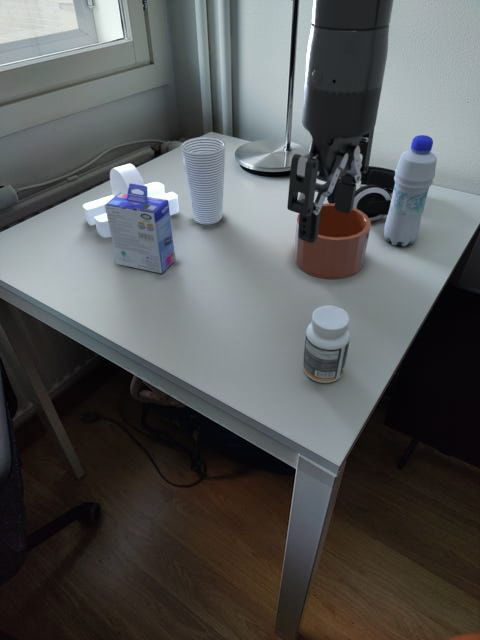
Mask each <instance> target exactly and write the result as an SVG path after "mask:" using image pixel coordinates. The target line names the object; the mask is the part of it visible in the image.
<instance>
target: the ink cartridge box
mask: <svg viewBox="0 0 480 640" xmlns="http://www.w3.org/2000/svg"><path fill="white" fill-rule="evenodd" d="M133 189H139V190H141V191H143V192H144V194H143V195H139V194H133V193H132V192H131V191H132V190H133ZM147 191H148V186H142V185H136V184H129V188H128V194H125V193H119V194H118V195H116V196H115V197H114V198H112V199H111V200H110V201H109V202H108V203H106V204H105V209H106V214H107V218H108V223H109V228H110V233H111V237H110V238H111V241H112V247H113V251H114V255H115V261H116V264H117V265H120V266H125V267H130V268H135V269H140V270H144V271H149V272H154V273H158V274H163V273H164V272H165V271H166V270H167V269H168V268H170V266H172V264H173V263H174V262H175V261H176V252H175V245H174V237H173V228H172V222H171V221H172V220H171V216H170V212H169V204H168V200H167V199H160V198H153V197H147Z"/></svg>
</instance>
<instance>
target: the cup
mask: <svg viewBox="0 0 480 640" xmlns="http://www.w3.org/2000/svg"><path fill="white" fill-rule="evenodd" d="M180 150H181V154H182V160H183V165H184V171H185V178H186V181H187V187H188V192H189V199H190V203H191V209H192V214H193V219H194V220H193V221H195V222H196V223H198V224H201V225H214V224H216V223H219V222H221V220H222V218H223V209H224V207H223V206H224V205H223V204H224V187H225V186H224V185H225V184H224V183H225V162H226V143H225V141H224V140H222V139H220V138H217V137H213V136H198V137H193V138H192V137H191V138H188V139H187V140H185V141H183V142H182V143H181V144H180Z"/></svg>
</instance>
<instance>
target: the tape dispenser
mask: <svg viewBox="0 0 480 640" xmlns="http://www.w3.org/2000/svg"><path fill="white" fill-rule="evenodd" d="M109 182H110V188H111V191H112V194H111V195H108V196H105V197H101V198H98V199H95V200H93V201H89V202H86V203H84V204H83V205H82V208H83V212H84V216H85V221H86V223H87V225H89V226H90V227H91V226H95V227H96V231H97V234H98V235H99V236H100V237H102V238H103V239H108V238H112V237H111V233H110V228H109V223H108V218H107V214H106V209H105V204H106V203H108V202H109V201H110V200H111V199H112V198H114V197H115V196H116V195H118V194H119V193H125V194H128V188H129V184H136V185H142V186H148V191H147V197H153V198H160V199H167V200H168V204H169V212H170V217H171V216H174V215H176V214H177V215H178V214H179V213H180V206H179V197H178V196H179V195H178V194H176V192H174V191H169V192H167V193H166V190H165V185H164V184H163V183H161V182H159V181H153V182H150V183H147V184H145V181H144V179H143V177H142V175H141V173H140V171H139V170H138V168H137V167H136V166H135V165H133V164H132V163H127V164H123V165H120V166H116V167H113V168H111V169H110V171H109ZM131 192H132V193H133V194H139V195H143V194H144V192H143V191H141V190H139V189H133V190H132V191H131Z"/></svg>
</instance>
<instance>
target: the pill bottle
mask: <svg viewBox="0 0 480 640" xmlns="http://www.w3.org/2000/svg"><path fill="white" fill-rule="evenodd" d="M349 326H350V316H349V314H348V313H347V312H346V311H345V310H344V309H343V308H341V307H338V306H335V305H322V306H320V307H317V308H316V309H315V310H314V311H313V312H312V315H311V322H310V323H309V324H308V325H307V328H306V330H305V339H304V349H303V360H302V368H303V371H304V373H305V374H306V376H307V377H308V378H309V379H311V380H312V381H315V382H317V383H322V384H329V383H334V382H335V381H338V380H339V379H340V378H341V377H342V376H343V374H344V371H345V367H346V361H347V357H348V351H349V347H350V340H351V332H350V330H349Z"/></svg>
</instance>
